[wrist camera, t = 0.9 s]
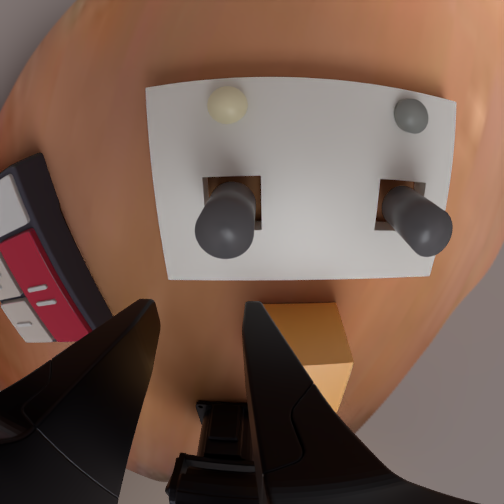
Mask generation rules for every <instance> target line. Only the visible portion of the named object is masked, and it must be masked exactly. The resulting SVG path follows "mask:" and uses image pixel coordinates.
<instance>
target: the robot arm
mask: <svg viewBox="0 0 504 504" xmlns="http://www.w3.org/2000/svg"><path fill="white" fill-rule="evenodd" d="M159 333H160V319H159V315H158V312H157V308H156V304H155V302H154V300H152V299H139V300H137V301H136V302H134V303H133V304H131V305H130V306H128V307H127V308H125V309H124V310H122V311H121V312H120V313H118V314H117V315H115V316H114V317H112V318H111V319H109V320H108V321H106V322H105V323H103V324H102V325H100V326H99V327H97V328H96V329H94V330H93V331H91V332H90V333H88V334H87V335H85V336H84V337H83V338H81V339H80V340H78V341H77V342H75V343H74V344H72V345H71V346H69V347H68V348H67V349H65V350H64V351H62V352H61V353H59V354H58V355H56V356H55V357H54V358H52V360H49V361H48V362H46V363H45V364H44V365H42V366H41V367H39V368H38V369H36V370H35V371H33V372H32V373H30V374H29V375H27V376H26V377H24V378H22V379H21V380H19V381H17V382H16V383H14V384H13V385H11V386H9V387H7V388H6V389H4V390H2V391H1V392H0V504H118V497H119V494H120V490H121V484H122V481H123V477H124V472H125V468H126V464H127V460H128V456H129V453H130V449H131V445H132V441H133V437H134V434H135V430H136V426H137V423H138V419H139V416H140V412H141V409H142V405H143V402H144V398H145V395H146V391H147V388H148V385H149V381H150V378H151V374H152V370H153V365H154V359H155V354H156V349H157V343H158V338H159ZM242 339H243V355H244V370H245V385H246V395H247V403H220V402H204V401H198V402H196V409H197V412H198V415H199V418H200V421H201V424H202V428H201V434H200V440H199V446H198V452H197V456H195V455H188V454H186V453H180V455H179V458H176V462H175V467H174V470H173V474H172V476H171V478H170V480H169V482H168V484H167V486H166V489H165V492H166V494H167V495H168V496H169V502H170V504H479V503H475V502H471V501H467V500H464V499H460V498H456V497H453V496H450V495H446V494H443V493H440V492H437V491H434V490H431V489H428V488H425V487H422V486H420V485H417V484H414V483H412V482H409V481H407V480H405V479H403V478H401V477H399V476H398V475H396V474H395V473H393V472H392V471H391V470H389V469H388V468H387V467H386V466H385V465H384V464H383V463H382V462H381V461H380V460H379V459H378V458H377V457H376V456H375V455H374V454H373V453H372V452H371V451H370V450H369V449H368V448H367V447H366V446H365V444H364V443H363V442H361V440H360V439H359V438H358V437H357V436H356V435H355V434H354V433H353V432H352V431H351V430H350V428H349V427H348V426H347V425H346V424H345V423H344V422H343V421H342V419H341V418H340V417H339V416H338V415H337V414H336V412H335V411H334V410H333V409H332V407H331V406H330V405H329V403H328V402H327V400H326V399H325V398H324V396H323V395H322V393H321V392H320V390H319V389H318V388H317V386H316V385H315V384H314V382H313V380H312V379H311V377H310V376H309V374H308V373H307V371H306V370H305V368H304V367H303V365H302V364H301V362H300V361H299V359H298V358H297V356H296V355H295V353H294V352H293V350H292V349H291V347H290V346H289V344H288V343H287V341H286V339H285V338H284V336H283V335H282V333H281V332H280V330H279V329H278V327H277V326H276V324H275V323H274V321H273V320H272V318H271V316H270V315H269V313H268V312H267V310H266V309H265V307H264V306H263V304H262V303H261V302H260V301H248V302H246V303H245V309H244V317H243V325H242Z"/></svg>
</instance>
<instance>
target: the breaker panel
mask: <svg viewBox="0 0 504 504" xmlns="http://www.w3.org/2000/svg"><path fill="white" fill-rule="evenodd" d="M146 107H147V122H148V135H149V147H150V157H151V167H152V176H153V184H154V192H155V200H156V207H157V214H158V221H159V228H160V234H161V240H162V246H163V252H164V258H165V263H166V269H167V274H168V279H169V280H326V279H365V278H395V277H419V276H430V273H431V269H432V266H433V262H434V258H435V255H434V256H431V257H422V256H420V255H418V254H417V253H415V251H414V250H413V249H412V248H411V247H410V246H409V245H408V244H407V243H406V241H405V240H404V239H403V238H402V237H401V236H400V235H399V234H398V233H397V232H396V231H395V230H394V229H393V227H392V226H391V225H390V224H389V223H388V222H376V213H377V205H378V197H379V187H380V179H389V180H402V181H413V182H415V183H414V190H415V191H416V192H418V193H419V194H421V195H422V196H424V197H425V198H427V199H428V200H430V201H431V202H433V203H434V204H436V205H437V206H438V207H440V208H441V209H443V210H444V211H445V209H446V203H447V197H448V191H449V185H450V178H451V170H452V161H453V152H454V140H455V125H456V102H454V101H451V100H447V99H443V98H439V97H436V96H431V95H427V94H423V93H418V92H414V91H409V90H404V89H399V88H393V87H387V86H381V85H375V84H368V83H360V82H352V81H343V80H332V79H319V78H301V77H241V78H223V79H209V80H199V81H189V82H181V83H173V84H166V85H160V86H153V87H148V88H146ZM223 176H261V212H262V221H255V226H254V237H253V241H252V244H251V246H250V247H249V249H248V250H247V251H246V252H245V253H243V254H242V255H240V256H238V257H235V258H231V259H220V258H216V257H213V256H211V255H209V254H208V253H206V252H205V251H204V250H203V249H202V248H201V247H200V245H199V244H198V242H197V240H196V237H195V224H196V221H197V219H198V217H199V215H200V213H201V212H202V210H203V208H204V206H205V205H206V203H207V201H208V199H209V192H208V178H207V177H223Z"/></svg>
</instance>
